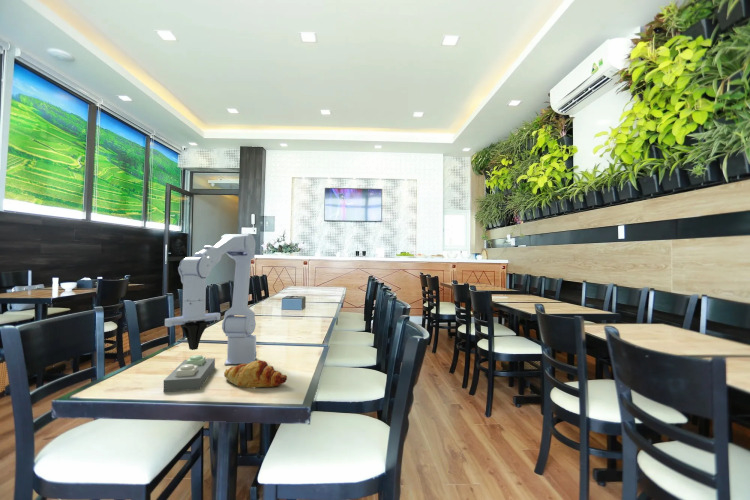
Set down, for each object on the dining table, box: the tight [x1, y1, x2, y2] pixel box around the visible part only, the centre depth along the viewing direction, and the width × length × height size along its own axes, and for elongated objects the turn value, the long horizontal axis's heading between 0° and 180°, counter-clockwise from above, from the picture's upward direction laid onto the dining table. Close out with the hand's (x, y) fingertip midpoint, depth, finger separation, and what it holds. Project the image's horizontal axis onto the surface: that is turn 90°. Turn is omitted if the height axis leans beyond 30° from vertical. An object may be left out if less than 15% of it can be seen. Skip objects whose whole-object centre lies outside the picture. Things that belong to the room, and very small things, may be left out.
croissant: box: [223, 359, 288, 389], centre depth 105 cm, size 21×10×8 cm, turn 72°
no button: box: [176, 364, 198, 377], centre depth 103 cm, size 4×4×4 cm
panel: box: [163, 357, 216, 393], centre depth 108 cm, size 9×20×3 cm, turn 13°
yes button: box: [186, 354, 206, 366], centre depth 113 cm, size 4×4×4 cm
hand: (193, 349), depth 101 cm, fingers closed
